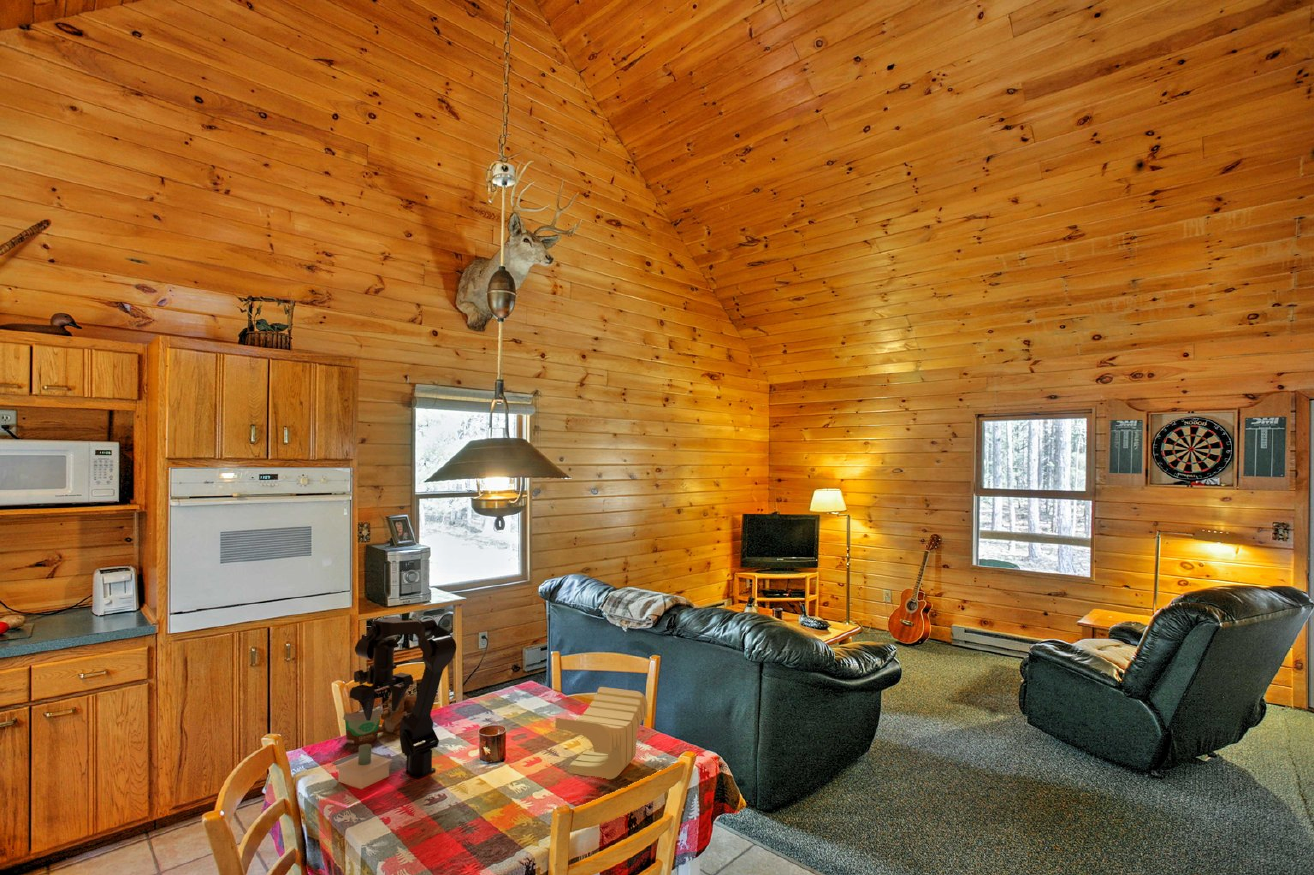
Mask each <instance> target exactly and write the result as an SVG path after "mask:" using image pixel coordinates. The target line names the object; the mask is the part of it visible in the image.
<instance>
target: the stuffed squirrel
mask: <svg viewBox="0 0 1314 875" xmlns="http://www.w3.org/2000/svg"><path fill="white" fill-rule="evenodd" d="M390 692H391V693H390V694H389V697H388V698H387V700H385V701H384V703H383V704H382V706H383V705H384V708H386V705H387V706H388V708H387V709H385V710H383V713H382V714H381V715H380V720H382V723H381V726H380V725H379V731H378V733H384V732H387V733H393V734H395V735H396V736H399V735H400V730H401V729H399V727H400V726H401V723H402V718H403V716H404V715H406V714H410V713H412V711H413V708H414V705H415V701H416V698H417V695H409V694H410V693H409V692H408V691H406V692H405V694H404V696H403V697H402V699H401V701H400V703H399V705H398V707H397V709H396V711H392V691H390Z"/></svg>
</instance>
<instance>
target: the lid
mask: <svg viewBox="0 0 1314 875" xmlns="http://www.w3.org/2000/svg"><path fill="white" fill-rule="evenodd" d="M358 752H359V754H358V757H356V758H353V759H351V760H348V761H346V762H344V763H341V764H339V765H336V764H335V769H336V770H338V771H339V770H342V771H345V772H348V773H352V774H355V775H358V776H361V777H362V776H364V775H366V774H369V773H371V772H373V771H375V770H377V769H380V768H382V767H384V766H386V765H389V766H390V764H393V759H391V758H384V757H381V756H377V755H374V754H371V752H372V744H371V743H362V744H359V746H358Z"/></svg>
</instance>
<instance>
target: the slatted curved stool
mask: <svg viewBox="0 0 1314 875" xmlns="http://www.w3.org/2000/svg"><path fill="white" fill-rule="evenodd" d="M596 692H597V693H596V694H595V695H594V697H593V701H591V702H590V704H589V707H587V709H585V711H584V712H583V713H582V714H581V715H580V716H579V717H577V718H576V719H567V718H560V717H555V726H554V727H555V729H558V730H562V731H563V730H564V731H567V732H572V733H575V734H578V735H581V736H583V737H584V738H586V739H587V740H588V741H589V742H590V743H591V745H592V748H593V750H588V749H586V750H584V751H583V752H582V753H581V754H580V755H579V756H577V758H575V759H574V760H572V762H571V763H569V766H568V770H567V773H569V774H573V775H574V774H575V775H581V776H584V777H585V776H586V777H591V776H595V777H594V778H597V777H602V778H601V779H603V778H606V779H605V780H614V779H616V778H617V777H618V776H619V775H620V774H621V773H622V772H623V771H624V770H625V769H626V767H627V766H629V764H631V762H632V761H633V760H634V759H635V757H636V753H637V741H638V733H639V732H638V729H639V728H640V726H641V723H642V721H644V720H645V719H646V718H648V700H647V698H646V696H645V695H644V694H643V693H642V692H640V691H639V690H638V691H637V690H630V689H622V688H621V689H620V688H614V687H613V688H612V687H608V686H607V687H606V686H599V687H598V689H597V691H596ZM596 776H597V777H596Z"/></svg>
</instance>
